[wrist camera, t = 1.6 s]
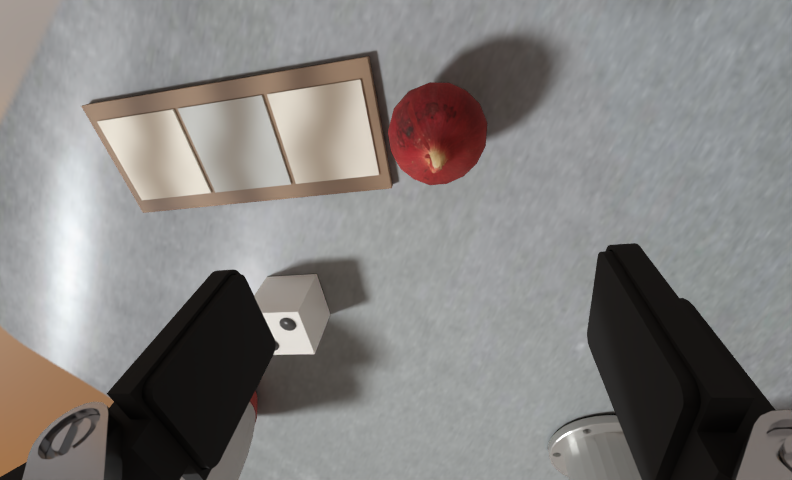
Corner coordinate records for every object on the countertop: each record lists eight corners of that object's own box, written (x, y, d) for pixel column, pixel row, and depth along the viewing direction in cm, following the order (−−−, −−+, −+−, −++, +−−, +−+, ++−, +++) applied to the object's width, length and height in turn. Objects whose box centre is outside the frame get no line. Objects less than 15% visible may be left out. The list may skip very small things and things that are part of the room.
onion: (379, 121, 26) (354, 162, 19) (436, 51, 23) (430, 72, 17) (440, 174, 28) (436, 230, 21) (500, 115, 25) (518, 157, 18)
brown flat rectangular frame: (369, 55, 24) (366, 57, 23) (392, 184, 29) (391, 189, 28) (87, 104, 28) (79, 106, 28) (148, 209, 33) (142, 213, 32)
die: (316, 273, 34) (297, 312, 30) (330, 314, 37) (314, 355, 33) (267, 276, 35) (241, 314, 31) (283, 315, 38) (262, 355, 34)
